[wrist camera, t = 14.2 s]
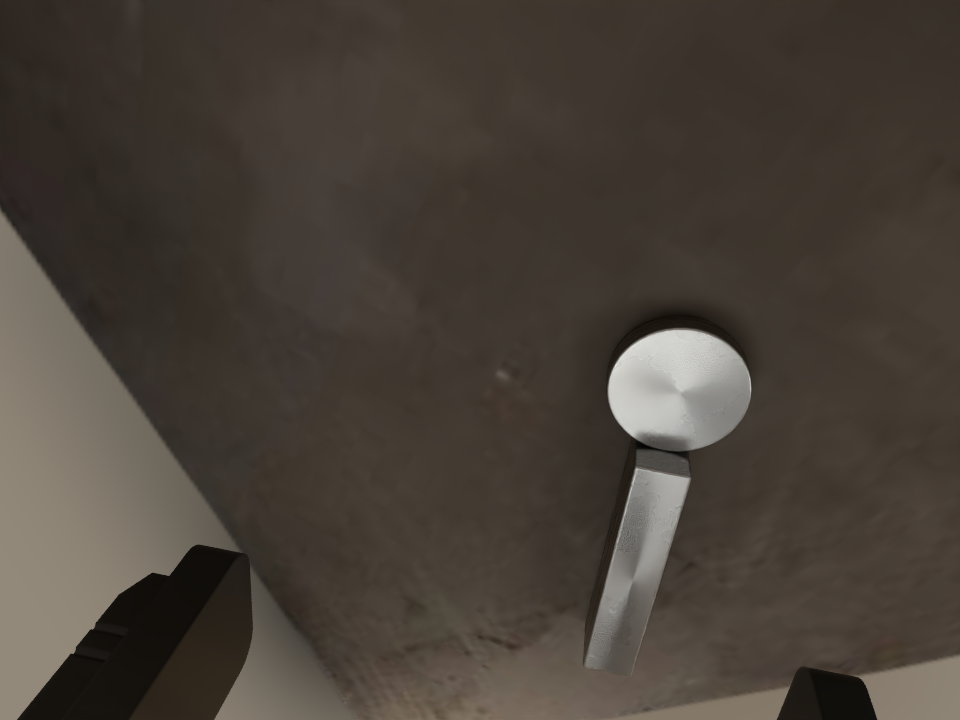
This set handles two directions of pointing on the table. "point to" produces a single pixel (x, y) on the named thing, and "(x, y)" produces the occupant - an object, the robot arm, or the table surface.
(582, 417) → the table surface
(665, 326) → the spoon
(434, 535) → the table surface
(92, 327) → the table surface
